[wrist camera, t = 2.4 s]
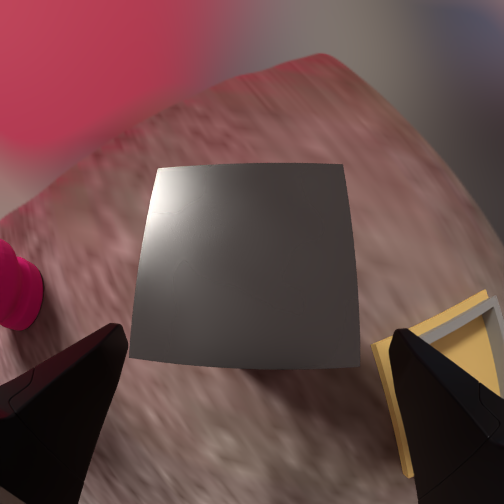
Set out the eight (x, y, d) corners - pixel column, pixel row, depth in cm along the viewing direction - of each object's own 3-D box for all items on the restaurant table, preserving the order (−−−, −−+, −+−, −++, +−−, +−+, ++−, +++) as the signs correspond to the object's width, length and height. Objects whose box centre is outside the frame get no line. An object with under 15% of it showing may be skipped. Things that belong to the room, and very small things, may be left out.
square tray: (505, 406, 13) (525, 407, 11) (403, 474, 13) (418, 486, 11) (478, 292, 17) (498, 283, 14) (370, 344, 17) (385, 341, 14)
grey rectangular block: (298, 362, 17) (360, 366, 4) (230, 361, 17) (129, 357, 5) (298, 297, 18) (343, 164, 6) (233, 296, 18) (158, 168, 6)
